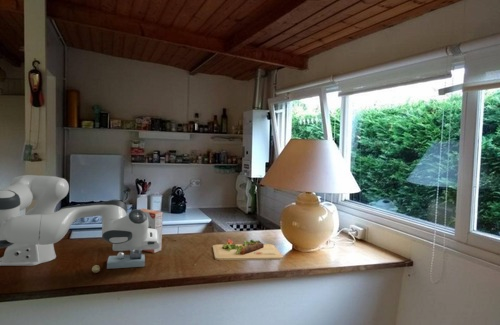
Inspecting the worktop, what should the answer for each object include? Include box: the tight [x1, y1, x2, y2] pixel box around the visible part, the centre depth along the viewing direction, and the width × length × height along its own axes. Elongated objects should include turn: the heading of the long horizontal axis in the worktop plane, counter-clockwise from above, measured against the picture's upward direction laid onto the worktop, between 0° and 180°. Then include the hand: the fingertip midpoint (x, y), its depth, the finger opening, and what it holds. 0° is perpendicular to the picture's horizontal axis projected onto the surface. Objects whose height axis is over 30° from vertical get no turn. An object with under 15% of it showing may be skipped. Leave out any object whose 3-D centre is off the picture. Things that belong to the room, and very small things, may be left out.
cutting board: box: [212, 238, 284, 261], centre depth 182 cm, size 35×23×8 cm
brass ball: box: [91, 264, 101, 274], centre depth 145 cm, size 3×3×3 cm
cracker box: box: [138, 208, 164, 254], centre depth 179 cm, size 14×6×21 cm, turn 62°
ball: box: [116, 251, 126, 259], centre depth 157 cm, size 3×3×3 cm
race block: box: [129, 250, 143, 259], centre depth 161 cm, size 5×6×8 cm
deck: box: [106, 253, 146, 270], centre depth 158 cm, size 16×10×2 cm, turn 108°
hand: (136, 251), depth 157 cm, fingers closed
